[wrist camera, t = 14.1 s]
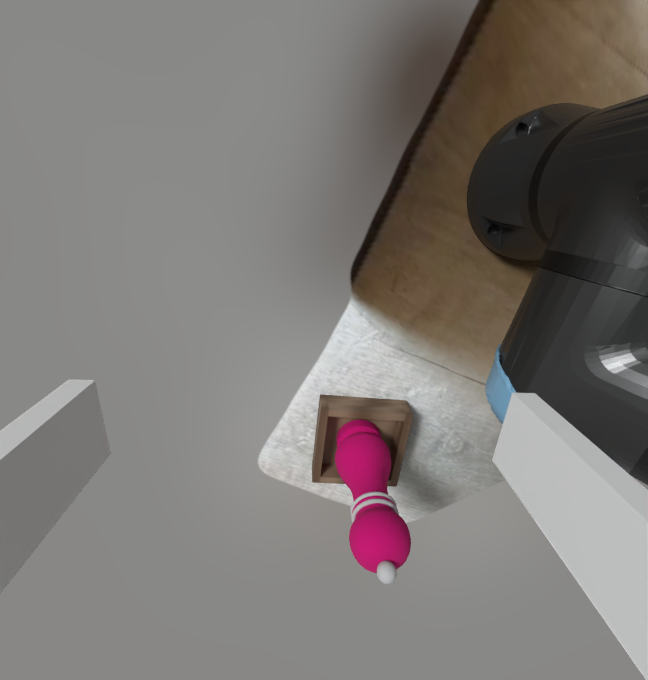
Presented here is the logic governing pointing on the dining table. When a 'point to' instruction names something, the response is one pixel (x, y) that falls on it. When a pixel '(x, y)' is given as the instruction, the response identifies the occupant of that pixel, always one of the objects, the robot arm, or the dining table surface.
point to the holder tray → (340, 410)
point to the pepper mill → (371, 500)
